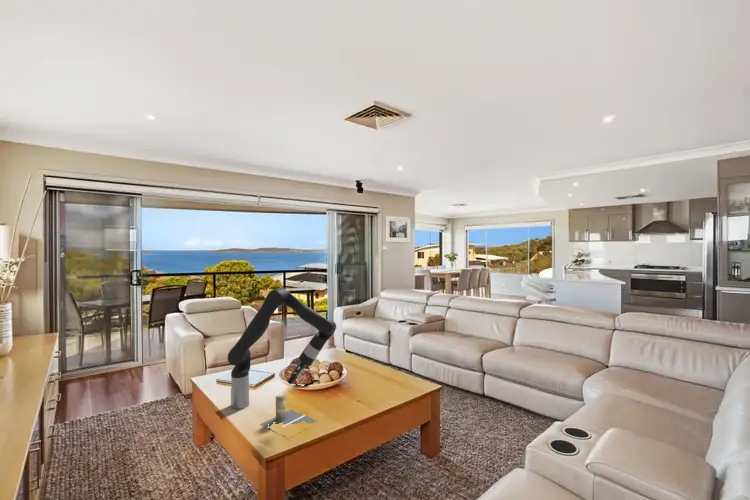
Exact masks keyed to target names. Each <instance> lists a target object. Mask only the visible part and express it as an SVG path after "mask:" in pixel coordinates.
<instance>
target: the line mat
mask: <svg viewBox="0 0 750 500" xmlns="http://www.w3.org/2000/svg"><path fill="white" fill-rule="evenodd" d="M302 421H305V422H306V423H309V424H310V423H314V421H315V422H317V421H318V420H316V419H314V418H312V417H309V416H307V415H305V414H302V413H300V412H297V411H296V410H293V409H289V410H287V411H286V419H285V420H284V421H280V422H279V421H276V416H275V417H272V418H271V419H269V420H267V421H264V422H262V423H260V424H259V425H260V426H262V427H264V428H265V429H267V427H268V424H269V427H270V426H271V425H272V424H273V422H276V423H275V424H279V423H282V422H283V424H286V425H284V426H282V427H285V426H287V425H289V424H297V423H301V422H302ZM310 421H311V422H310Z"/></svg>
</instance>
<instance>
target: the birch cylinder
mask: <svg viewBox="0 0 750 500" xmlns="http://www.w3.org/2000/svg"><path fill="white" fill-rule="evenodd" d="M286 397H287V395H286V394H284V393H281V394H277V395H275V417H276V421H279V422H280V421H284V420H285V419H286V412H287V411H286V410H287V408H286V407H287V401H286V400H287V399H286Z"/></svg>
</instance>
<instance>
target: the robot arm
mask: <svg viewBox="0 0 750 500" xmlns="http://www.w3.org/2000/svg"><path fill="white" fill-rule="evenodd" d="M283 305H284V306H286V307H289V308H290V309H292V310H293V311H294V312H295V314H296V315H298V318H300V319H301V320H303V321H304V322H306V323H307V324H309V325H311V326H312V327H314V328H315V329H316V331H318V332H317V333H316V334H315V335H313V337H311V340H310V341H309V342H308V344H307V345H305V347H304V349H303V351H302V352H301V353H300V354H299V356H298V360H299V361H300V362H299V363H298V364H297V365H296V367H295V368H294V370H293V372H292V373H291V374H290V375H291V376H290V377H289V379H288V380H287V383H288V384H289V385H292V384H293V383H294V382H293V381H294V380H296V379H297V378H298V376H299V375H300V374H301V373H304V371H305V369H306V368H307V367H311V366H312V365H313V363H314V362H315V360H316V359H317V357H318V355H319V354H320V352H321V351H322V350H323V348H324V346H325V345H326V342H328V341H329V339H330V338H331V337H332V336H333V335H334V333H335V332H336V329H337V324H336V322H335V321H333V320H331V319H327V318H325V317H324V316H322V315H321V314H320V313H319V312H317V311H316V310H314V309H312V308H311V307H309V306H307V304H305V303H303V302H302V301H300V300H299V299H298V298H297V297H296V296H295V295H293V294H292V293H291V292H290V291H289V290H288V289H286V288H284V287H277V288H274V289H272V290H270V291H269V292H268V293H267V295H266V297H265V299H264V300H263V303H262V305H261V306H260V308H259V310H258V311H257V313H255V315H254V317H252V319H251V321H250V322H249V324H248V325H247V327H246V329H245V330H244V332H243V333H242V334H241V336H240V338H239V339H238V340H237V342H236V343H235V344H234V346H232V348H231V349H230V350H229V352H228V354H227V363H229V364H230V365H232V366H234V367H233V368H232V369H231V373H230V381H231V382H230V383H231V384H230V385H231V388H230V405H231V408H232V409H235V410H242V409H245V408H247V407H248V406H249V405H250V377H249V375H250V370H251V349H250V348H251V347H252V346H253V345H255V343H256V342H257V341H259V339H261V338H262V337H263V336H264V334H265V332H266V331H267V330H268V328H269V326H270V321H271V317H272V315H273V314H274V313H275V311H276V310H277V309H278V308H280V307H281V306H283Z"/></svg>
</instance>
